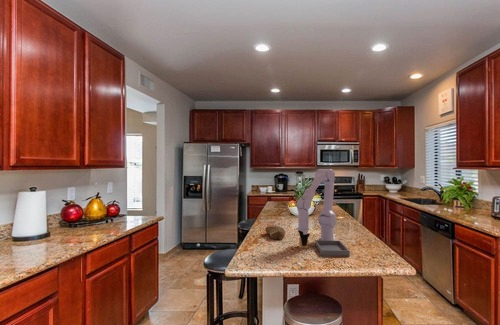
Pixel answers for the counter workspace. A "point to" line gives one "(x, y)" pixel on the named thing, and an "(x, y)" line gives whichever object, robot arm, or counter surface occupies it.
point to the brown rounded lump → (275, 232)
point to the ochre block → (301, 244)
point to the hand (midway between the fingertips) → (303, 244)
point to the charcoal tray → (332, 248)
